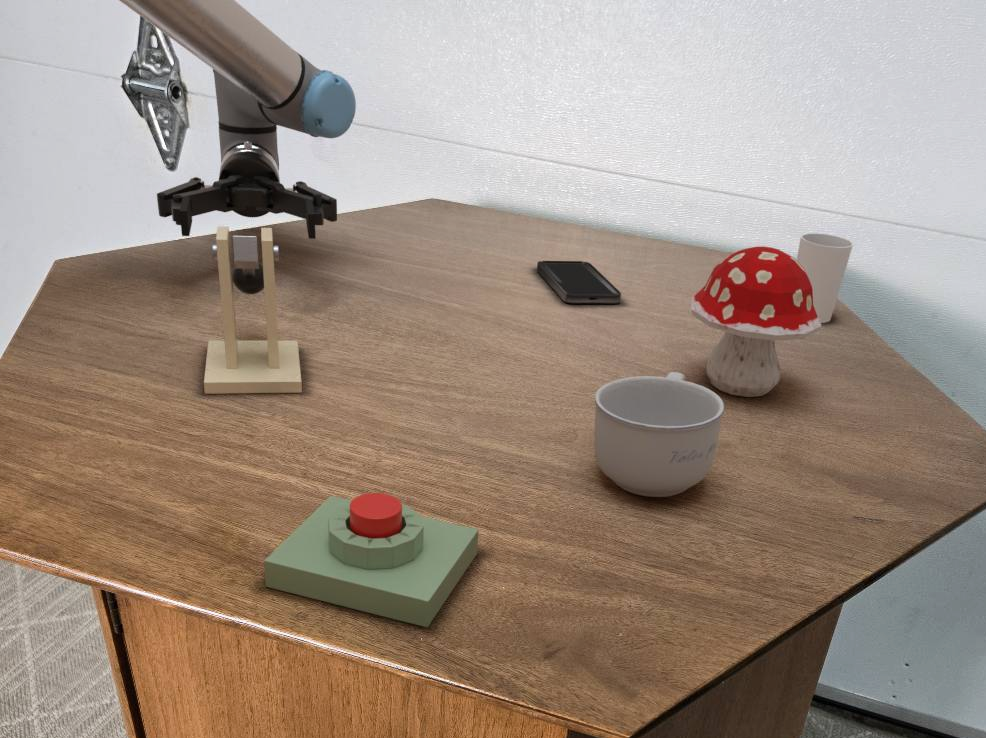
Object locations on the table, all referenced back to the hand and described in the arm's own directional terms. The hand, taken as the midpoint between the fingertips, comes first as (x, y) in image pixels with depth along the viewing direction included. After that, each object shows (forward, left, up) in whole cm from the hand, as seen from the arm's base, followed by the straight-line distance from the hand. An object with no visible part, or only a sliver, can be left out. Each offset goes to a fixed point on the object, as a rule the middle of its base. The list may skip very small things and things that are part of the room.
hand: (249, 225), depth 109 cm
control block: (+35, -44, -10) cm, 57 cm away
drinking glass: (+62, +35, -10) cm, 72 cm away
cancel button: (+35, -44, -6) cm, 57 cm away
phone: (+31, +30, -10) cm, 44 cm away
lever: (+7, -13, -2) cm, 15 cm away
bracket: (+9, -16, -10) cm, 21 cm away
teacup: (+51, -20, -10) cm, 56 cm away
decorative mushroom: (+56, +5, -10) cm, 57 cm away
